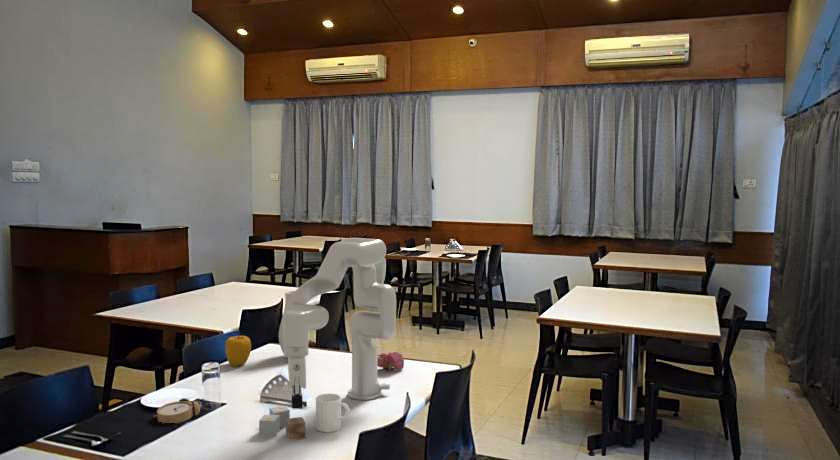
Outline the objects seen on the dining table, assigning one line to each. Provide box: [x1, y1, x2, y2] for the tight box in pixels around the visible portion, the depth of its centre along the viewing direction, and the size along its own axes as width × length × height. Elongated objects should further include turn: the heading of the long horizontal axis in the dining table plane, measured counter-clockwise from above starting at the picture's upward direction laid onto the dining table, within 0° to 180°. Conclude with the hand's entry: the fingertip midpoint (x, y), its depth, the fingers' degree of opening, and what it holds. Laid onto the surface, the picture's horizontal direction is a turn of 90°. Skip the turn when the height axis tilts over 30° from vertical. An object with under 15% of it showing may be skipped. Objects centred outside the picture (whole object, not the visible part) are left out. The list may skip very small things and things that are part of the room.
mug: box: [315, 393, 351, 433], centre depth 195 cm, size 8×12×10 cm
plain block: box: [285, 416, 306, 441], centre depth 188 cm, size 5×5×5 cm
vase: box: [278, 290, 310, 354], centre depth 275 cm, size 14×14×30 cm
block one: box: [258, 414, 281, 437], centre depth 190 cm, size 5×5×5 cm
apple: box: [224, 335, 252, 367], centre depth 263 cm, size 11×11×13 cm
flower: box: [377, 351, 405, 375], centre depth 258 cm, size 11×10×10 cm
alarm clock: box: [153, 397, 202, 424], centre depth 204 cm, size 11×5×15 cm
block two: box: [268, 405, 291, 428], centre depth 198 cm, size 5×5×5 cm
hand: (297, 407), depth 189 cm, fingers closed
